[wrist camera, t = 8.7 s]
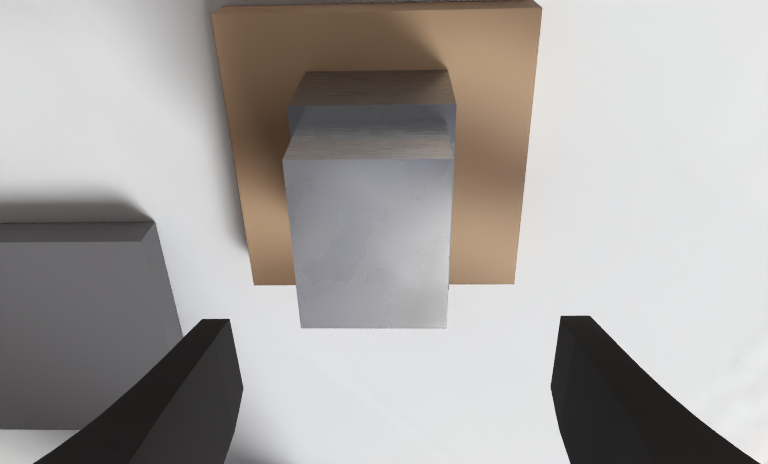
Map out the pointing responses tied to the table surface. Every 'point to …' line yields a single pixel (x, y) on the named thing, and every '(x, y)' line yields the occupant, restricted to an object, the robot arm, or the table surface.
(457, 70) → the stand
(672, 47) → the table surface
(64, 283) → the stand
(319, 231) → the housing
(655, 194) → the table surface
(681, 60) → the table surface
